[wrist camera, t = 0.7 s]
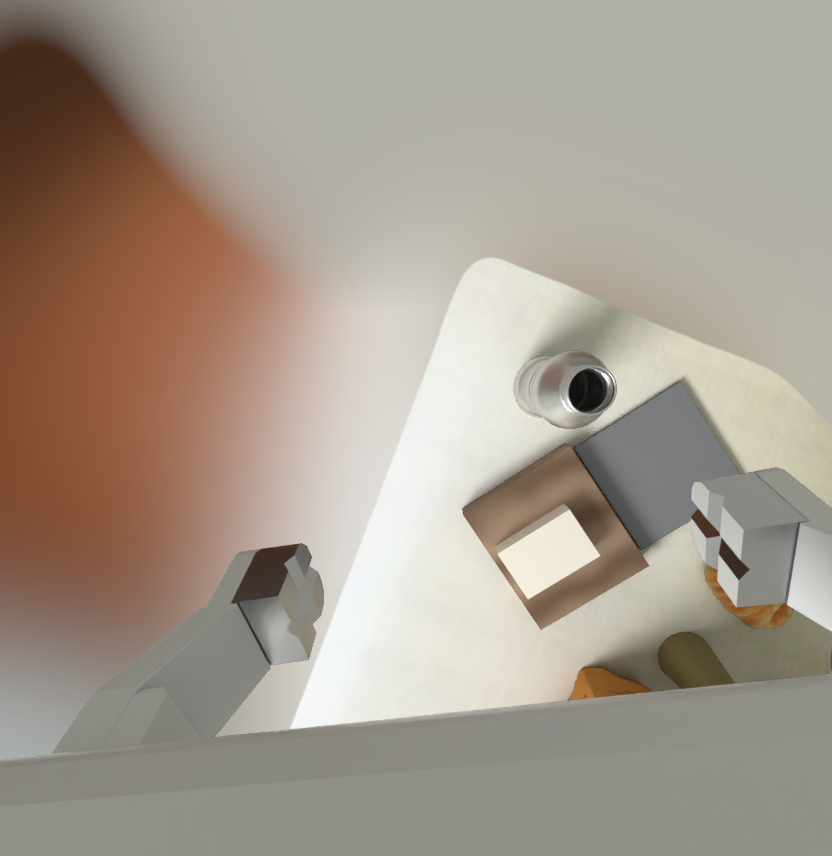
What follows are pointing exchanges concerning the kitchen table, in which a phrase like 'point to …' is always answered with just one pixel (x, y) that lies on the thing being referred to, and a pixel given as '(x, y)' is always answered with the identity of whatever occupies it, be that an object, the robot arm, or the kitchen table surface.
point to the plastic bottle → (565, 389)
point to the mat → (655, 463)
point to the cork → (691, 662)
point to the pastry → (749, 615)
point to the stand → (537, 496)
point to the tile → (546, 551)
